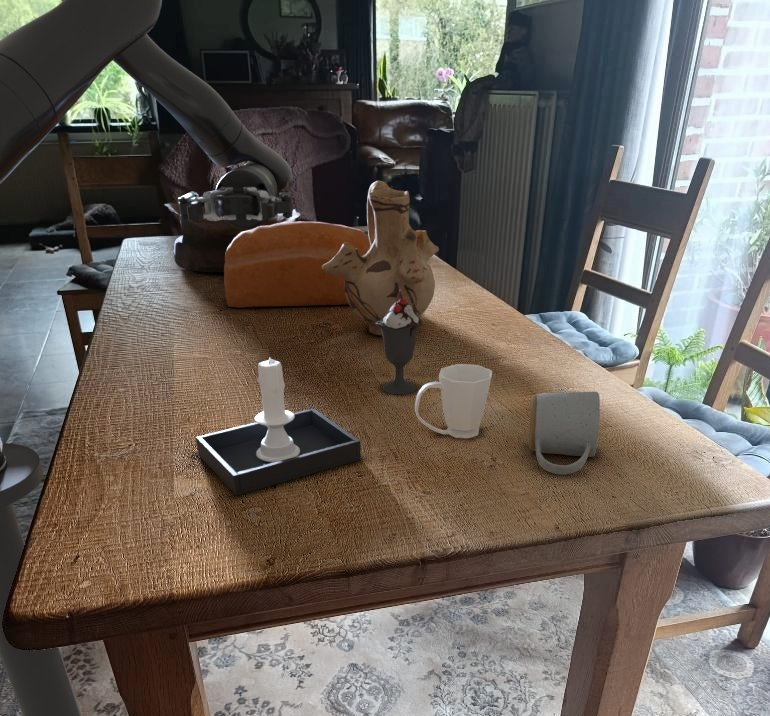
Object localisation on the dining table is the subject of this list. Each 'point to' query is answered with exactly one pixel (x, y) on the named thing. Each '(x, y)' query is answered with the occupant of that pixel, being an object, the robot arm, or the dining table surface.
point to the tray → (248, 473)
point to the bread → (288, 264)
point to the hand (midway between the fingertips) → (229, 213)
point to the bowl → (209, 241)
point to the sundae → (399, 342)
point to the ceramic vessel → (386, 260)
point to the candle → (274, 415)
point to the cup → (460, 398)
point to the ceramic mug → (564, 427)
